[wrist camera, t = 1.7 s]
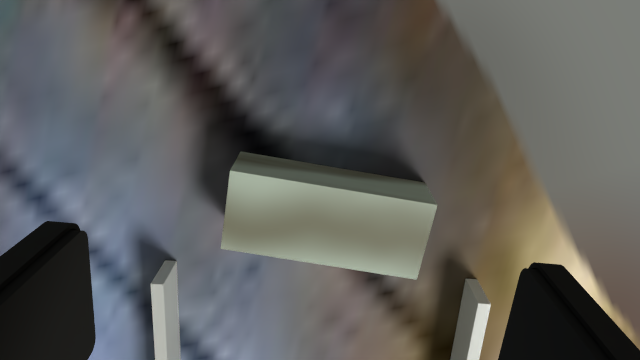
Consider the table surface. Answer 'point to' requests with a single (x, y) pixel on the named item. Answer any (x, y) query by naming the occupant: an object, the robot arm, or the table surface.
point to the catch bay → (168, 333)
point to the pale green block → (327, 215)
